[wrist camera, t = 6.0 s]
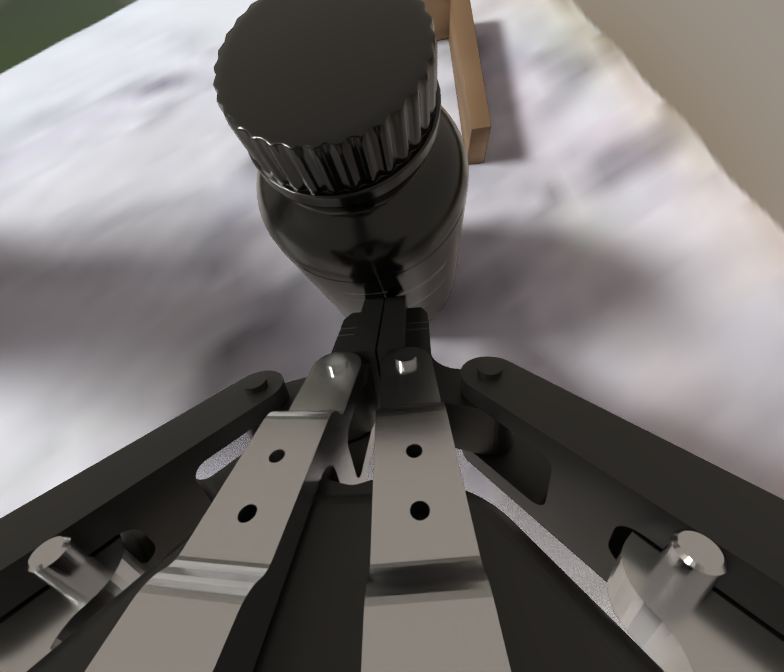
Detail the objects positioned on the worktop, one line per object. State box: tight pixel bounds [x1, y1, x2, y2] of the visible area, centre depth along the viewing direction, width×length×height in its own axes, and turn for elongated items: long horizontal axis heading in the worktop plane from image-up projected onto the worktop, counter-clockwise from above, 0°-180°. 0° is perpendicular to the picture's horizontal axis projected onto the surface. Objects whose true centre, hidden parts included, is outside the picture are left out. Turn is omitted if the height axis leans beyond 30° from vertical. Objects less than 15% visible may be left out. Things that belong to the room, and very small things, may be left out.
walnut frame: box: [422, 0, 491, 164], centre depth 20 cm, size 12×11×2 cm
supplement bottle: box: [213, 0, 469, 321], centre depth 12 cm, size 7×7×12 cm
